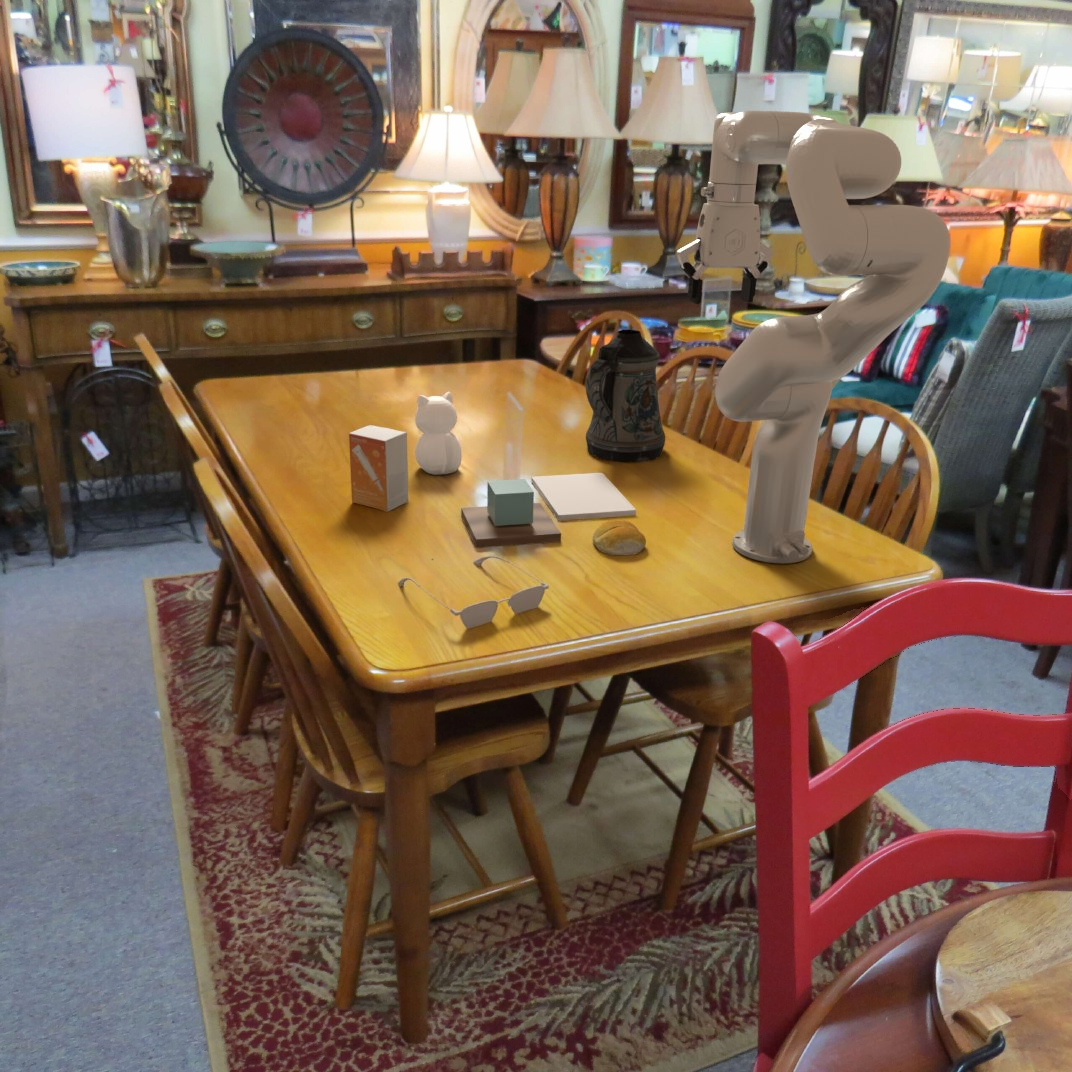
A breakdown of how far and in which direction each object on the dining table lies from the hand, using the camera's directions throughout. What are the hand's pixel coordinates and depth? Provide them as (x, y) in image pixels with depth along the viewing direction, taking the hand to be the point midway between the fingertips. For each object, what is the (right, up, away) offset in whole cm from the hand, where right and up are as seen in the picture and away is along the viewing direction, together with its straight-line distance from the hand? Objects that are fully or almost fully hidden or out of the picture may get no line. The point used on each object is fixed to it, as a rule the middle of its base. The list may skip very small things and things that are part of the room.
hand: (720, 301), depth 166 cm
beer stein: (-13, -23, +38) cm, 46 cm away
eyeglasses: (-41, -49, -24) cm, 68 cm away
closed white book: (-23, -33, +13) cm, 42 cm away
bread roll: (-18, -42, -7) cm, 46 cm away
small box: (-59, -34, +8) cm, 68 cm away
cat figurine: (-50, -27, +25) cm, 62 cm away
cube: (-36, -37, -2) cm, 51 cm away
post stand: (-36, -38, -2) cm, 52 cm away
